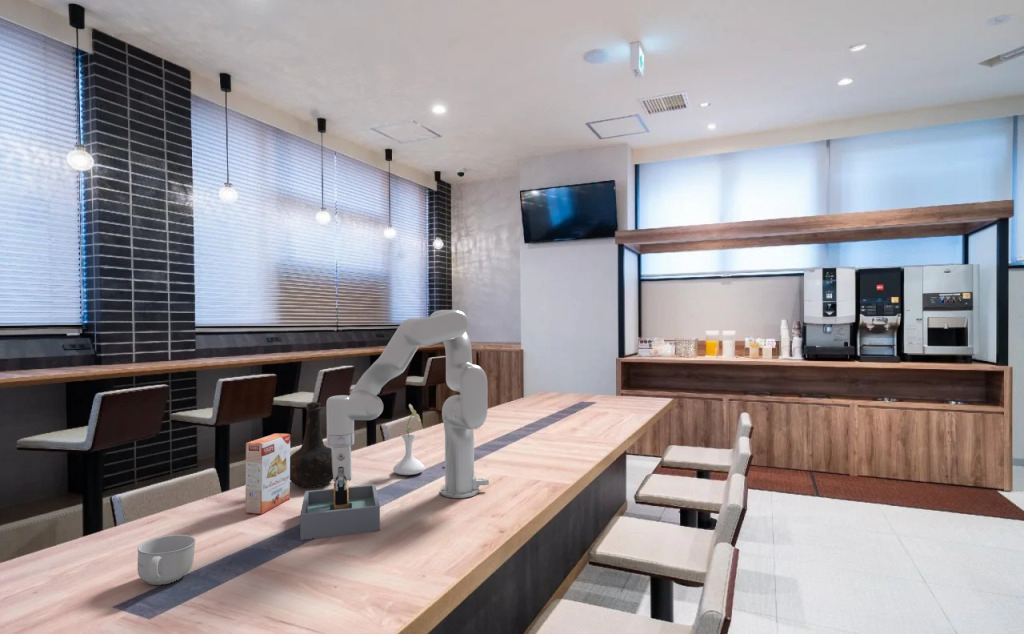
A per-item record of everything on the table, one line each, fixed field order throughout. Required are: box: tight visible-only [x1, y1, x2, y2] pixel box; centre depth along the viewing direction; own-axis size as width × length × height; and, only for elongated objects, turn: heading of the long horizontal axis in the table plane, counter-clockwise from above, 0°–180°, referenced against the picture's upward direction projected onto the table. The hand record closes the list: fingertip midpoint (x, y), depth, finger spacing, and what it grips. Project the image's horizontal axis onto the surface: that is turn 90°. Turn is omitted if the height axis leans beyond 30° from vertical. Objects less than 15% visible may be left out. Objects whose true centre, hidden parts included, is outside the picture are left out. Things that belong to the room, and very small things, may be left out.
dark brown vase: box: [290, 402, 334, 489], centre depth 186 cm, size 18×18×28 cm
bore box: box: [299, 484, 381, 541], centre depth 152 cm, size 20×20×6 cm
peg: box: [333, 480, 349, 510], centre depth 155 cm, size 4×4×10 cm
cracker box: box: [245, 433, 291, 515], centre depth 165 cm, size 14×6×21 cm, turn 168°
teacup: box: [137, 534, 196, 586], centre depth 118 cm, size 14×11×8 cm
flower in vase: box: [392, 403, 425, 476], centre depth 199 cm, size 13×11×25 cm
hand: (341, 498), depth 155 cm, fingers open, 9 cm apart
